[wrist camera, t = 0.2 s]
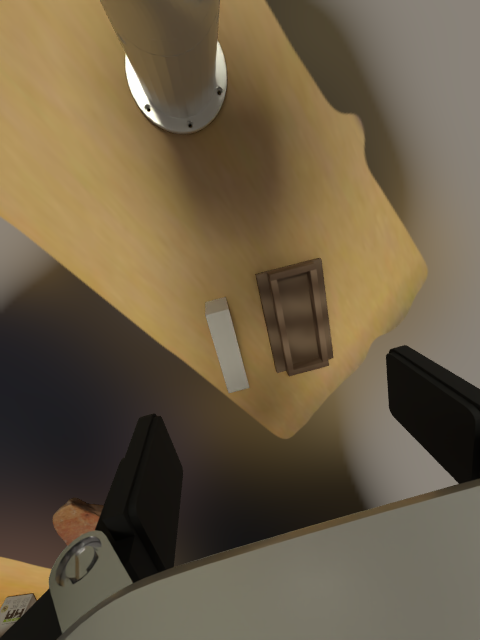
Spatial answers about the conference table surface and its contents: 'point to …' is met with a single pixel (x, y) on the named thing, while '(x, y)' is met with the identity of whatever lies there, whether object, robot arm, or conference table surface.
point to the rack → (296, 316)
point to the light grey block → (226, 344)
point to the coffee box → (14, 610)
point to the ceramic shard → (76, 519)
